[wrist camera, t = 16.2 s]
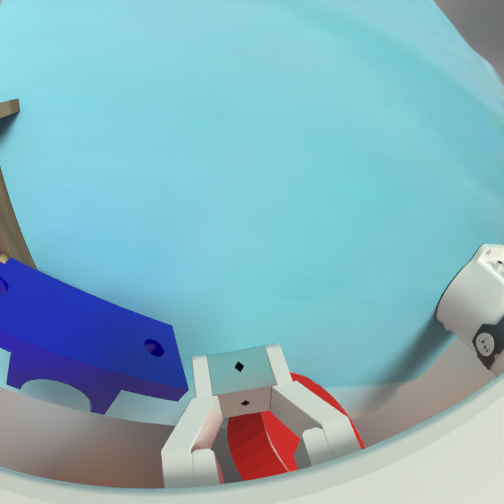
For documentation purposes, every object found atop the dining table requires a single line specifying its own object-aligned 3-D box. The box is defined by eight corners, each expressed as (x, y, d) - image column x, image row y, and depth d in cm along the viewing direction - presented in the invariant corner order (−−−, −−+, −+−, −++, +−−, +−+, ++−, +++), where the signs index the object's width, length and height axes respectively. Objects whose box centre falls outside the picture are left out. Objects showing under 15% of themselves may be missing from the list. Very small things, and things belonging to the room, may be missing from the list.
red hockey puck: (213, 381, 36) (252, 528, 20) (242, 356, 34) (296, 516, 18) (307, 401, 46) (351, 501, 30) (333, 382, 45) (384, 484, 29)
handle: (18, 98, 14) (-9, 105, 11) (99, 338, 27) (96, 369, 24) (-22, 117, 13) (-50, 128, 10) (66, 342, 27) (61, 372, 23)
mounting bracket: (-12, 244, 16) (-22, 298, 17) (-48, 303, 10) (-46, 359, 12) (172, 325, 26) (144, 363, 28) (188, 389, 21) (155, 424, 22)
